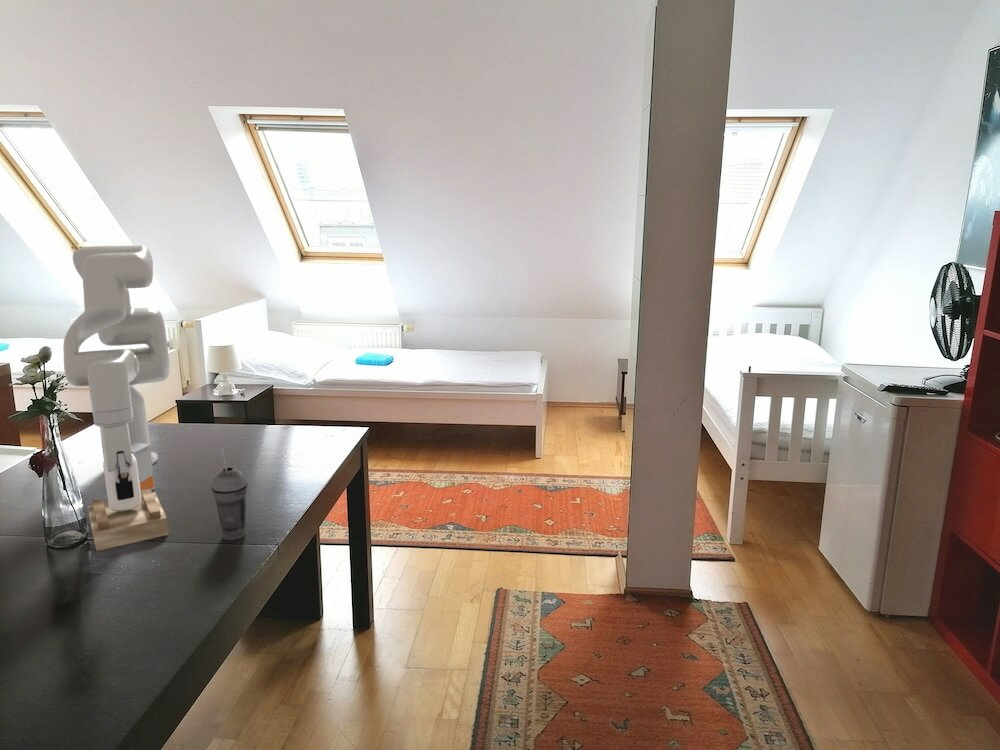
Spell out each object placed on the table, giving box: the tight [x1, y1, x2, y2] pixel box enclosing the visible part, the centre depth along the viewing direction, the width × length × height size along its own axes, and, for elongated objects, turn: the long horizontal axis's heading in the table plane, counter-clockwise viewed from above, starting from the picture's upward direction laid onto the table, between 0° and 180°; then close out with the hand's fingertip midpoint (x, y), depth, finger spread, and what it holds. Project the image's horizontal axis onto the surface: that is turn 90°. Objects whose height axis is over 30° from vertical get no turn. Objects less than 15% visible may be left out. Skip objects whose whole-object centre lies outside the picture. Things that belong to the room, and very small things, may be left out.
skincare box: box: [131, 443, 156, 492], centre depth 180 cm, size 6×4×12 cm
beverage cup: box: [211, 447, 248, 541], centre depth 157 cm, size 7×7×20 cm
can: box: [102, 451, 141, 511], centre depth 160 cm, size 6×6×12 cm
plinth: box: [87, 489, 169, 552], centre depth 162 cm, size 16×14×6 cm
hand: (123, 492), depth 161 cm, fingers closed on can, 6 cm apart
